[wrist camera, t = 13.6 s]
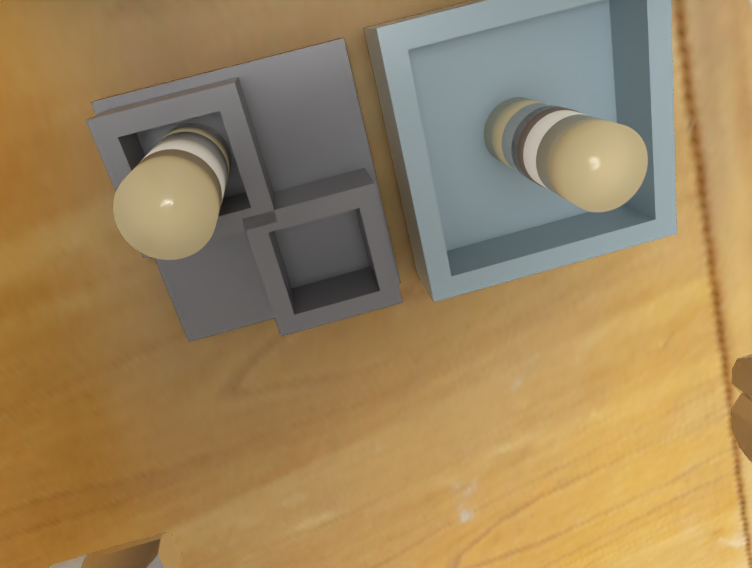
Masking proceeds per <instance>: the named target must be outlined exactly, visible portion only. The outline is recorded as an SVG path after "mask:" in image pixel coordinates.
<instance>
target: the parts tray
mask: <svg viewBox="0 0 752 568" xmlns="http://www.w3.org/2000/svg"><path fill="white" fill-rule="evenodd" d="M364 33H365V37H366V42H367V46H368V51H369V56H370V60H371V65H372V69H373V74H374V78H375V83H376V88H377V92H378V97H379V101H380V106H381V110H382V115H383V120H384V124H385V129H386V133H387V138H388V143H389V147H390V152H391V156H392V161H393V165H394V170H395V175H396V179H397V184H398V188H399V193H400V197H401V202H402V207H403V211H404V216H405V220H406V225H407V230H408V234H409V239H410V243H411V248H412V252H413V257H414V262H415V266H416V271H417V275H418V276H419V278H420V280H421V281H422V283H423V285H424V286H425V288H426V290H427V291H428V293H429V295H430V296H431V298H432V300H433V301H434V302H437V301H440V300H444V299H448V298H451V297H455V296H458V295H462V294H465V293H469V292H472V291H476V290H480V289H483V288H487V287H490V286H494V285H497V284H501V283H504V282H508V281H512V280H515V279H519V278H522V277H526V276H529V275H533V274H536V273H540V272H544V271H547V270H551V269H554V268H558V267H561V266H565V265H568V264H572V263H576V262H579V261H583V260H586V259H590V258H593V257H597V256H600V255H604V254H608V253H611V252H615V251H618V250H622V249H625V248H629V247H632V246H636V245H640V244H643V243H647V242H650V241H654V240H657V239H661V238H664V237H668V236H672V235H675V234H677V219H676V179H675V139H674V100H673V60H672V21H671V0H472V1H468V2H464V3H460V4H456V5H452V6H448V7H444V8H440V9H437V10H433V11H429V12H425V13H421V14H417V15H413V16H409V17H405V18H401V19H397V20H393V21H389V22H385V23H381V24H377V25H373V26H369V27H366V28H364ZM514 97H523V98H528V99H531V100H535V101H538V102H542V103H546V104H549V105H554V106H561V107H564V108H568V109H572V110H575V111H578V112H580V113H582V114H586V115H589V116H593V117H597V118H600V119H604V120H607V121H611V122H615V123H618V124H622V125H625V126H628V127H630V128H632V129H633V130H635V131H636V132H637V133H638V134H639V135H640V137H641V138H642V140H643V141H644V143H645V146H646V149H647V155H648V165H647V171H646V175H645V177H644V180H643V182H642V184H641V186H640V187H639V189H638V191H637V192H636V193H635V194H634V195H633V197H631V198H630V199H629V200H628V201H627V202H626V203H625V204H623V205H621V206H620V207H618V208H616V209H613V210H610V211H607V212H599V213H598V212H590V211H586V210H584V209H582V208H580V207H578V206H576V205H575V204H573V203H571V202H569V201H568V200H566V199H564V198H562V197H561V196H559V195H557V194H556V193H554V192H552V191H550V190H549V189H547V188H545V187H542V186H540V185H538V184H536V183H534V182H533V181H531V180H529V179H528V178H526V177H524V176H523V175H522V174H521V173H519V172H518V171H516V170H514V169H512V168H511V167H509V166H507V165H505V164H504V163H502V162H500V161H499V160H497V159H495V158H494V157H493V156H492V155H491V154H490V152H489V151H488V149H487V147H486V144H485V140H484V128H485V124H486V121H487V118H488V117H489V115H490V113H491V112H492V110H493V109H494V108H495V107H496V106H497V105H499V104H500V103H501V102H503V101H505V100H507V99H510V98H514Z"/></svg>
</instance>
